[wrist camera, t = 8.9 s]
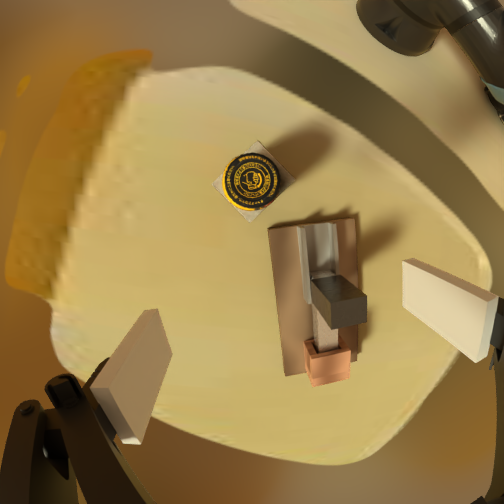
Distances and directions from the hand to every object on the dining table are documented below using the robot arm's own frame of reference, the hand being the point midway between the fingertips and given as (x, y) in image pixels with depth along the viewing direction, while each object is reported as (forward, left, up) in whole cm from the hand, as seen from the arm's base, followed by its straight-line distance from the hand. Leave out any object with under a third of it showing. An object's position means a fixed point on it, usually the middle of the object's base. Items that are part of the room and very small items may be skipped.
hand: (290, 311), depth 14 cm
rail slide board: (-8, +11, -25) cm, 28 cm away
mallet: (-8, +12, -23) cm, 27 cm away
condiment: (-1, -7, -25) cm, 26 cm away
